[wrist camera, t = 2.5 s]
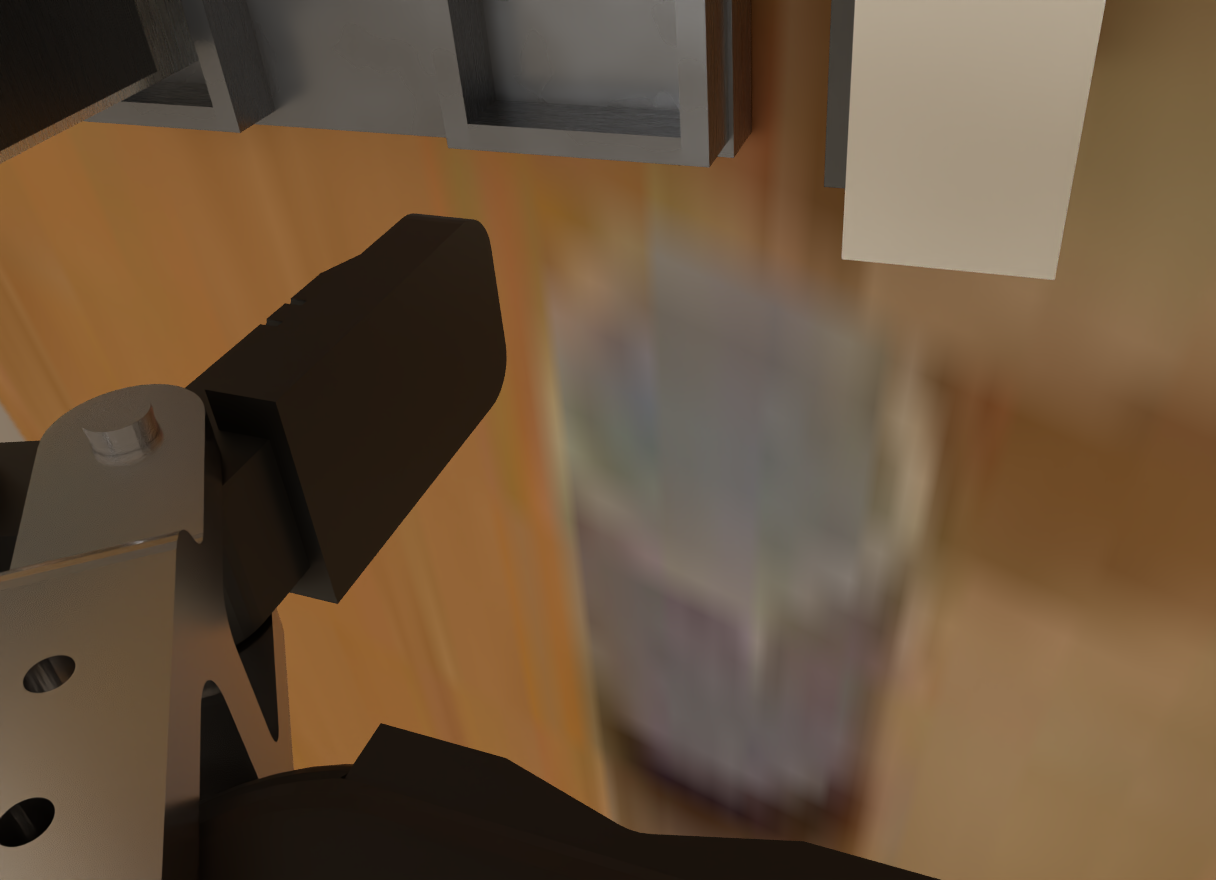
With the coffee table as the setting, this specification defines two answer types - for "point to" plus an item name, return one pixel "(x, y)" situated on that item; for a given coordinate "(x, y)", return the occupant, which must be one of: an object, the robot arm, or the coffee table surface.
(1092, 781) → the coffee table surface
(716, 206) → the coffee table surface
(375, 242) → the robot arm
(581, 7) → the grey boxy piece
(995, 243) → the block
